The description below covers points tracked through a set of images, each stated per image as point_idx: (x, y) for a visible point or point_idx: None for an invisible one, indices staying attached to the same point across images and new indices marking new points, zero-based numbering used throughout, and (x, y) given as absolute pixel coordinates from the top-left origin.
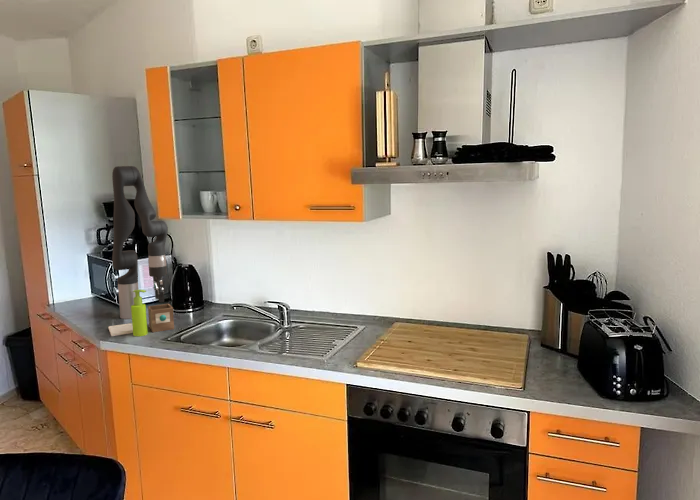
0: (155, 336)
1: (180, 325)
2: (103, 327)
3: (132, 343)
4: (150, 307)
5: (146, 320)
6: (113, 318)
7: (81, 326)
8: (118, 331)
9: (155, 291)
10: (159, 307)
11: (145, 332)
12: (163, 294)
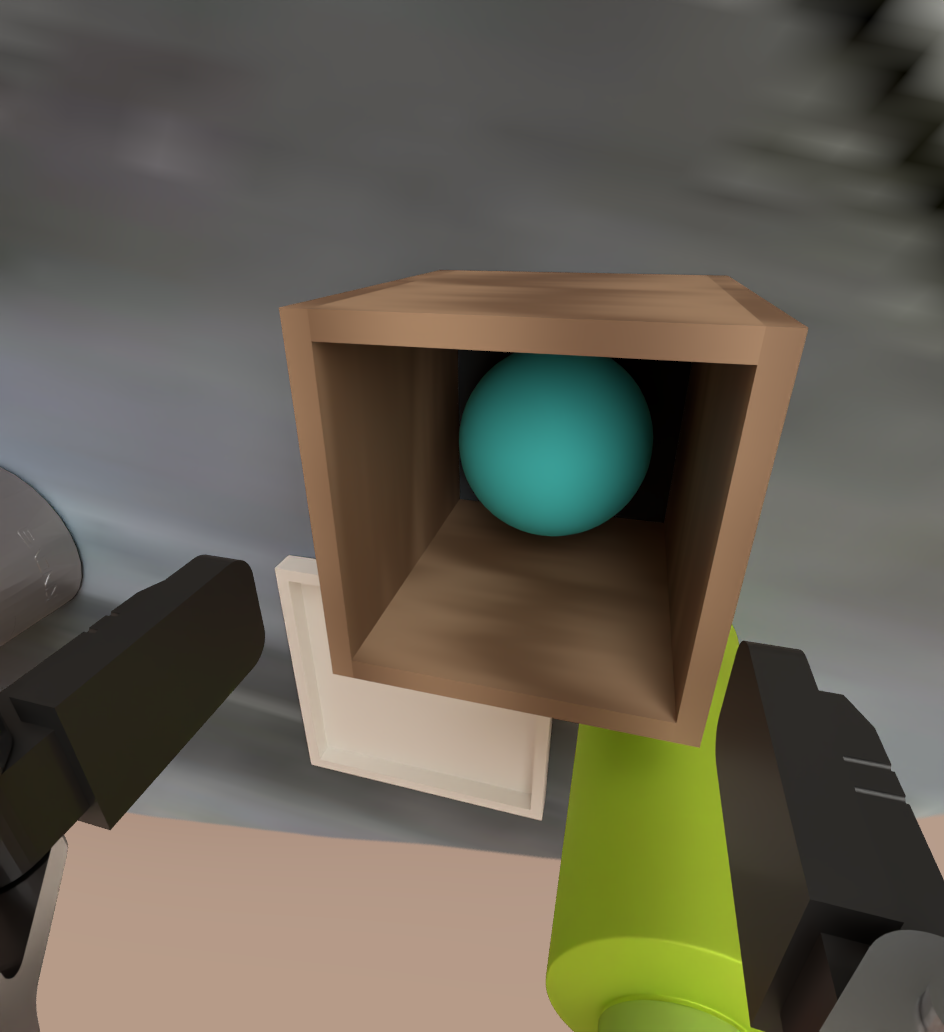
0: (881, 563)
1: (582, 133)
2: (264, 752)
3: (938, 784)
4: (359, 634)
5: (718, 712)
6: (42, 638)
7: (190, 814)
8: (453, 739)
9: (115, 813)
10: (355, 492)
11: (732, 638)
12: (882, 900)
